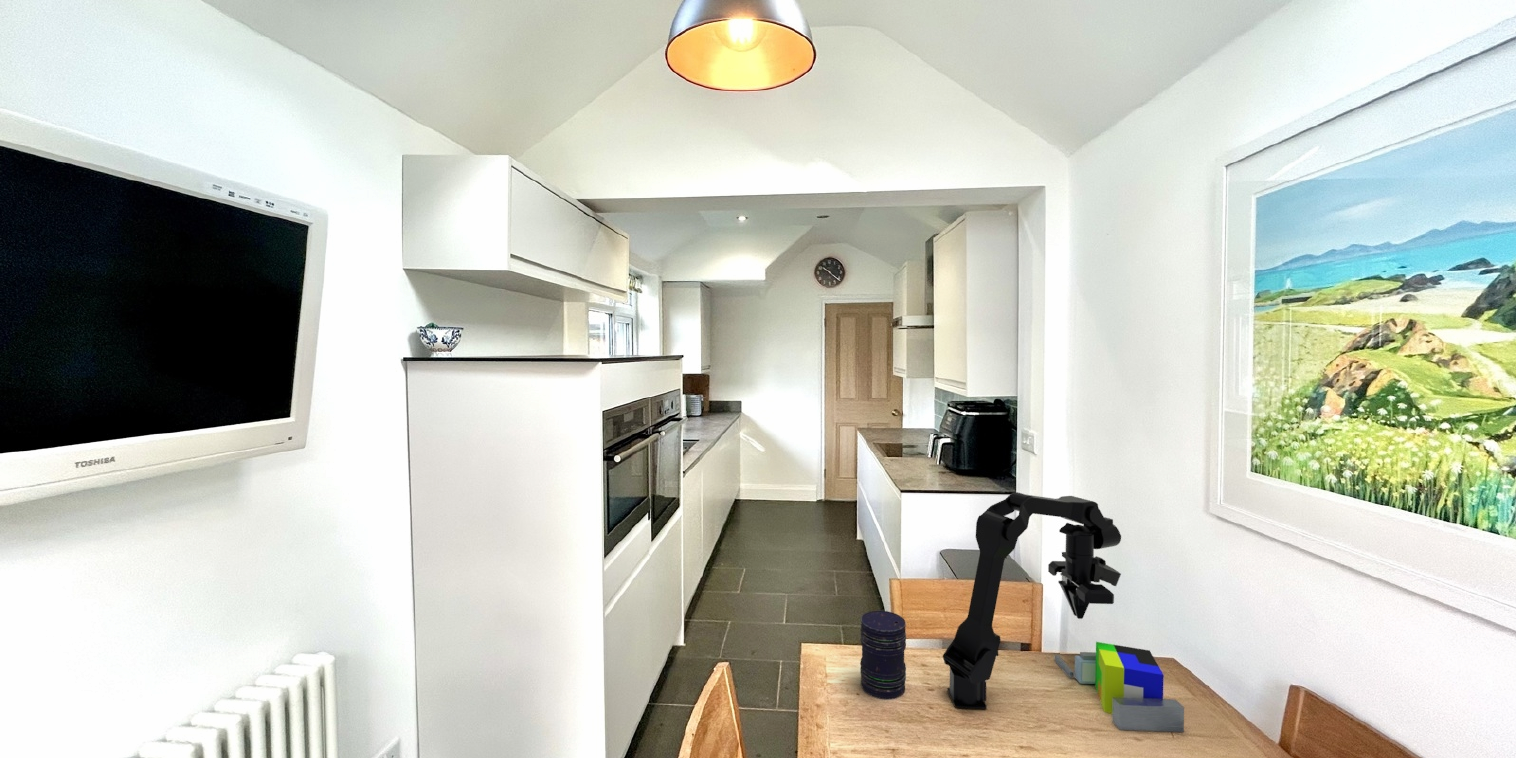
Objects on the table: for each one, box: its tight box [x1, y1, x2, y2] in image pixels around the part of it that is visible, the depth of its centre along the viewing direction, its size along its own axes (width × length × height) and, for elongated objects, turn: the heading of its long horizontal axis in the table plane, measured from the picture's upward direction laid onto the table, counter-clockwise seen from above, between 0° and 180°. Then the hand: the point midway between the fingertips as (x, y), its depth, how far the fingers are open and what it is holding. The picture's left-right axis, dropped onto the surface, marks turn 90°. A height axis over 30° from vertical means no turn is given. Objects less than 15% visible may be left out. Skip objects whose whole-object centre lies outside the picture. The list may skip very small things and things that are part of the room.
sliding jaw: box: [1074, 651, 1096, 685], centre depth 125 cm, size 12×3×6 cm, turn 86°
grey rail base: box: [1054, 654, 1185, 733], centre depth 121 cm, size 14×25×5 cm, turn 176°
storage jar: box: [859, 610, 907, 700], centre depth 124 cm, size 10×10×15 cm
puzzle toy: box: [1094, 641, 1164, 715], centre depth 118 cm, size 10×10×10 cm
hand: (1078, 616), depth 131 cm, fingers closed
